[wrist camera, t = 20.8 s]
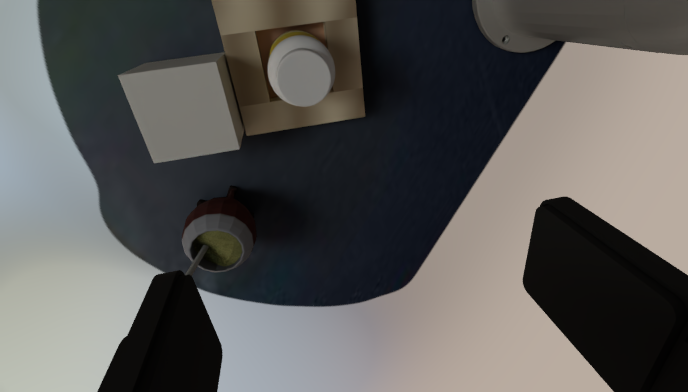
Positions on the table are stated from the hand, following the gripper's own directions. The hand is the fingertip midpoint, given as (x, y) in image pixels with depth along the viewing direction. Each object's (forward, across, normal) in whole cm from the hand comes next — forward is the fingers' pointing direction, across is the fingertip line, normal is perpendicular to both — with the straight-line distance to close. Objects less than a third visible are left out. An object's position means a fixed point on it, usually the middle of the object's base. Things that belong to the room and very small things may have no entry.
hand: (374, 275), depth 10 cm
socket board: (+29, 0, -2) cm, 29 cm away
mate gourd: (+29, +11, +13) cm, 34 cm away
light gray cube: (+29, +10, 0) cm, 31 cm away
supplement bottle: (+29, 0, -2) cm, 29 cm away
